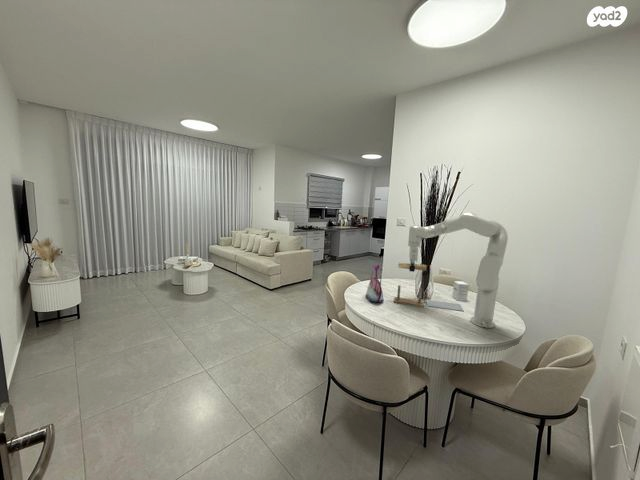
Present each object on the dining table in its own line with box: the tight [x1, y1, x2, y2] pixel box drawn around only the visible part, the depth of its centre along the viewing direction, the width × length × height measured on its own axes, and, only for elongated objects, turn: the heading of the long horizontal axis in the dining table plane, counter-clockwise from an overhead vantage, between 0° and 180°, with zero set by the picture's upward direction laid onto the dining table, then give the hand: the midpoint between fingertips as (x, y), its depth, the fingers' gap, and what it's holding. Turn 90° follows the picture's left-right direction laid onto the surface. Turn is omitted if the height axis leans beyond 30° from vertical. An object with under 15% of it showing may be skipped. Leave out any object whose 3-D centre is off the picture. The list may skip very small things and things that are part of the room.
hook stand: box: [393, 284, 425, 308], centre depth 185 cm, size 10×19×10 cm, turn 73°
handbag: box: [365, 264, 385, 303], centre depth 187 cm, size 21×10×25 cm, turn 7°
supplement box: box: [451, 280, 470, 302], centre depth 195 cm, size 7×7×13 cm
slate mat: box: [425, 299, 465, 312], centre depth 182 cm, size 12×22×1 cm, turn 73°
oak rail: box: [397, 262, 427, 272], centre depth 182 cm, size 3×18×3 cm, turn 73°
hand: (411, 270), depth 182 cm, fingers closed on oak rail, 3 cm apart
